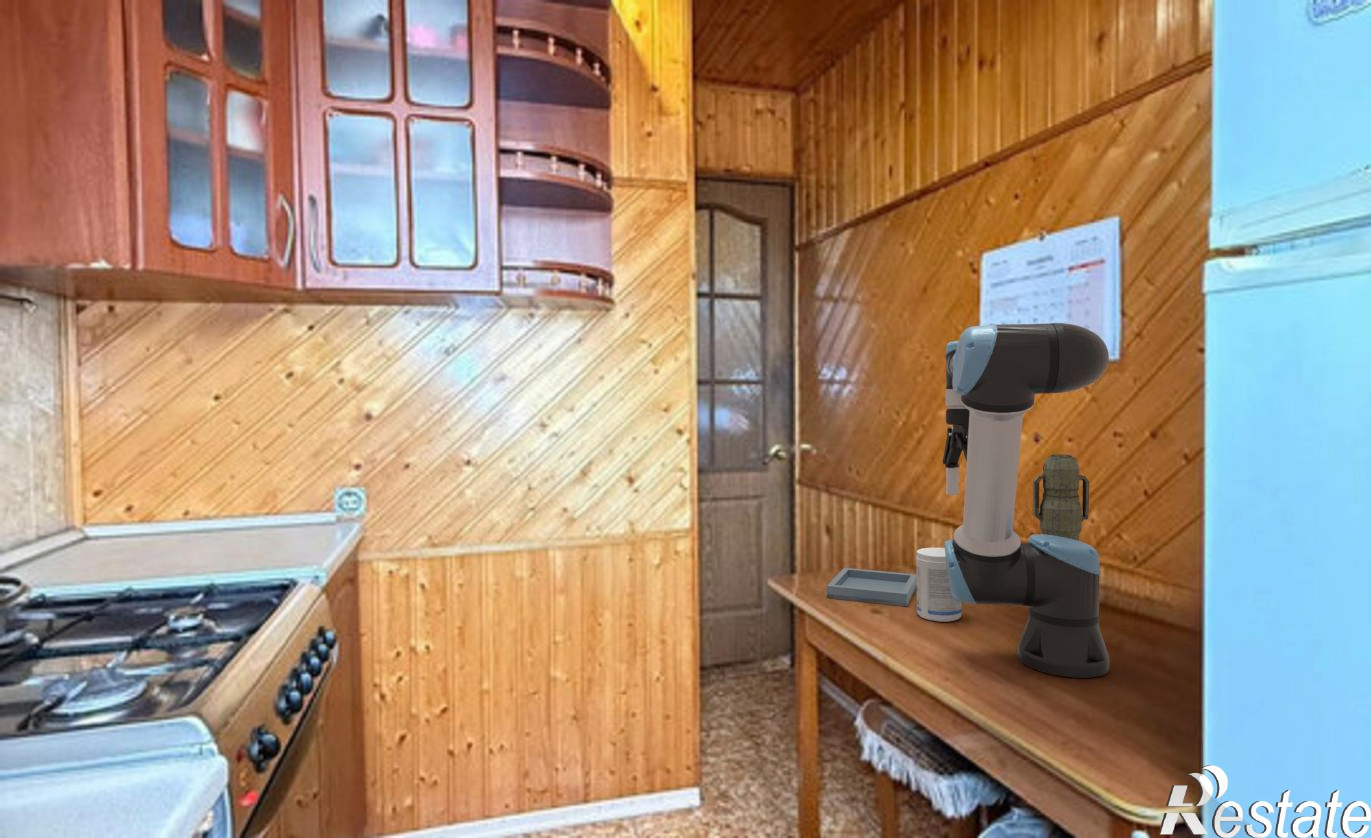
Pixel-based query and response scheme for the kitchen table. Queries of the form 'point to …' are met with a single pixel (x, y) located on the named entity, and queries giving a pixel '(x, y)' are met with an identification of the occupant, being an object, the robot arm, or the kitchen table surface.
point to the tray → (873, 587)
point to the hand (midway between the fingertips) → (962, 498)
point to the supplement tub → (935, 587)
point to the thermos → (1061, 497)
